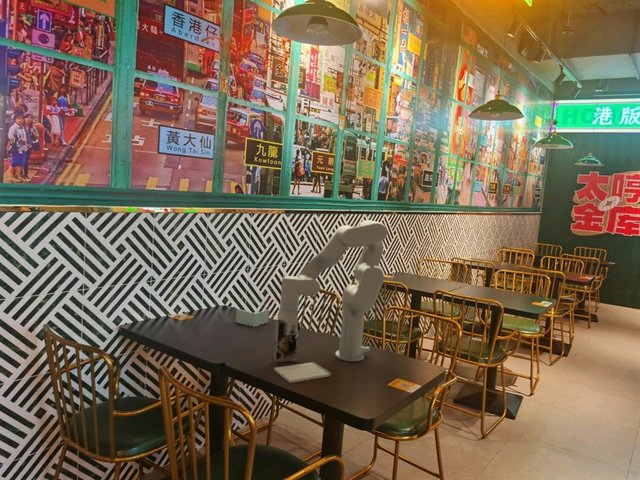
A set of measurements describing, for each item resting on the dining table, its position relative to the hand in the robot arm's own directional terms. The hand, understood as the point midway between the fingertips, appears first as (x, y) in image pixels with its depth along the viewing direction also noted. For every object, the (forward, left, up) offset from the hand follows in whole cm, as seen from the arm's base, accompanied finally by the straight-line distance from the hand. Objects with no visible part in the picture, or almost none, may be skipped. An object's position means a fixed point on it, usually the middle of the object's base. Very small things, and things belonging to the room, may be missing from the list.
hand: (286, 346), depth 197 cm
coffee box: (0, 0, -6) cm, 6 cm away
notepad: (+1, +16, -5) cm, 17 cm away
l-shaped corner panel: (-9, -54, -6) cm, 55 cm away
